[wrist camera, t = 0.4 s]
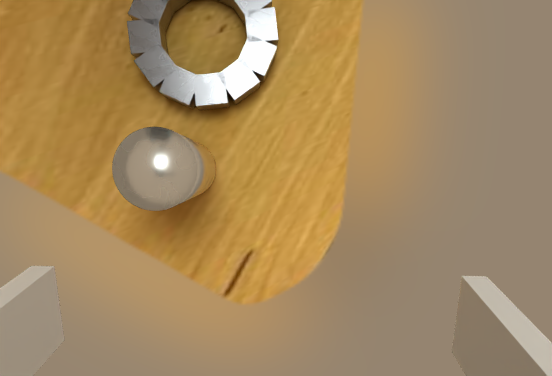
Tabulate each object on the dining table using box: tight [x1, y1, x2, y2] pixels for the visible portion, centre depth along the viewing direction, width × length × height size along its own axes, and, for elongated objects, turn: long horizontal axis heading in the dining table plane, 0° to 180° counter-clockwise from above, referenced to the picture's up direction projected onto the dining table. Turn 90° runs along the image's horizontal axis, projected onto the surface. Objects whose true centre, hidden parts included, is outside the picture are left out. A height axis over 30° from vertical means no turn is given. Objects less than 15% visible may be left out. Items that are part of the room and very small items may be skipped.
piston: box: [112, 127, 216, 211], centre depth 31 cm, size 5×5×12 cm
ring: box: [127, 0, 278, 110], centre depth 35 cm, size 12×12×2 cm
